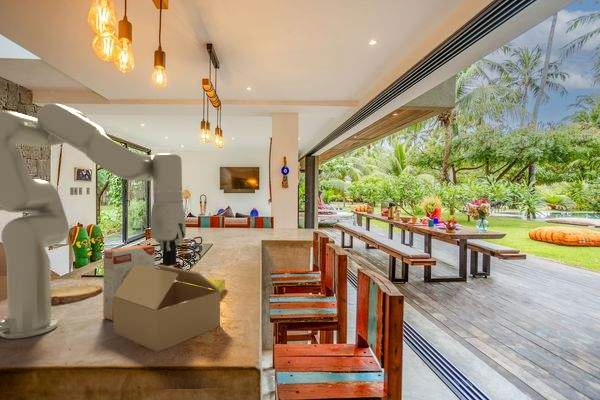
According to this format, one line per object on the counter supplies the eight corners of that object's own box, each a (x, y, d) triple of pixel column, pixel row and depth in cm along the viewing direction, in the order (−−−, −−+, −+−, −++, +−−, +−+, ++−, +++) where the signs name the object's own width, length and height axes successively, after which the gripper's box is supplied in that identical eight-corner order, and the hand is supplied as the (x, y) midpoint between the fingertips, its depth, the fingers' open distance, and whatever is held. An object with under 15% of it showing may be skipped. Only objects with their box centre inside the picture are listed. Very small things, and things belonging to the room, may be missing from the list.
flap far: (177, 280, 111) (178, 279, 111) (218, 290, 100) (219, 289, 100) (155, 265, 104) (156, 263, 104) (197, 274, 94) (198, 272, 94)
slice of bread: (106, 289, 137) (106, 280, 137) (87, 304, 119) (87, 293, 119) (55, 292, 134) (55, 282, 133) (28, 307, 116) (28, 296, 116)
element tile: (175, 301, 124) (175, 287, 124) (188, 289, 139) (188, 277, 138) (217, 301, 124) (217, 287, 124) (226, 289, 139) (226, 277, 139)
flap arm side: (156, 310, 83) (154, 309, 83) (114, 296, 94) (113, 295, 94) (178, 274, 88) (177, 273, 88) (136, 264, 99) (135, 264, 99)
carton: (157, 352, 83) (157, 311, 83) (113, 332, 95) (113, 296, 94) (220, 325, 100) (220, 291, 100) (176, 311, 111) (176, 280, 111)
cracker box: (113, 322, 102) (113, 251, 102) (102, 318, 106) (102, 249, 105) (155, 308, 114) (155, 245, 114) (144, 305, 117) (144, 243, 117)
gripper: (140, 199, 97) (141, 264, 98) (173, 199, 89) (174, 270, 90) (163, 198, 104) (165, 259, 104) (196, 198, 95) (198, 264, 96)
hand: (169, 264), depth 97 cm, fingers closed
